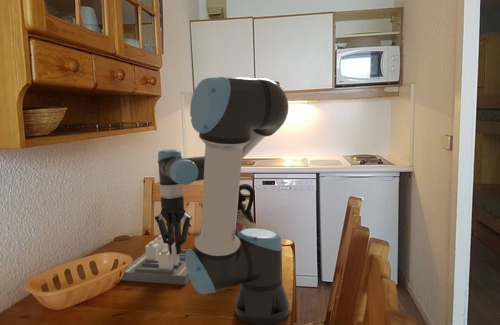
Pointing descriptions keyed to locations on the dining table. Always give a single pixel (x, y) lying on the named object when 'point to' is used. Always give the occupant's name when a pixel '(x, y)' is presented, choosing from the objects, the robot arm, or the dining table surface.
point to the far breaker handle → (161, 243)
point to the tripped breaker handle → (165, 260)
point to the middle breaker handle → (152, 251)
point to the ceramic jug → (244, 211)
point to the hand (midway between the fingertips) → (176, 262)
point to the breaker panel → (157, 271)
